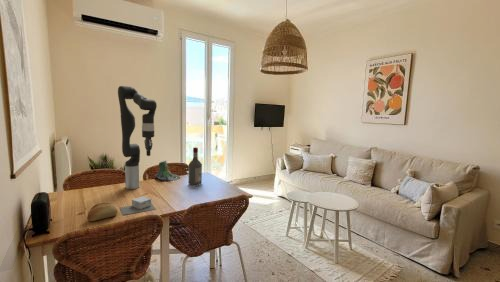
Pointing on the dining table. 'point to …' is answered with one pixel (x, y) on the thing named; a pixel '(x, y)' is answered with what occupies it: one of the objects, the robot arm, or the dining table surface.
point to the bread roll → (101, 211)
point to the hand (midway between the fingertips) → (148, 155)
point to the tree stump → (165, 173)
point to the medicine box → (141, 202)
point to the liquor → (195, 169)
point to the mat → (135, 209)
